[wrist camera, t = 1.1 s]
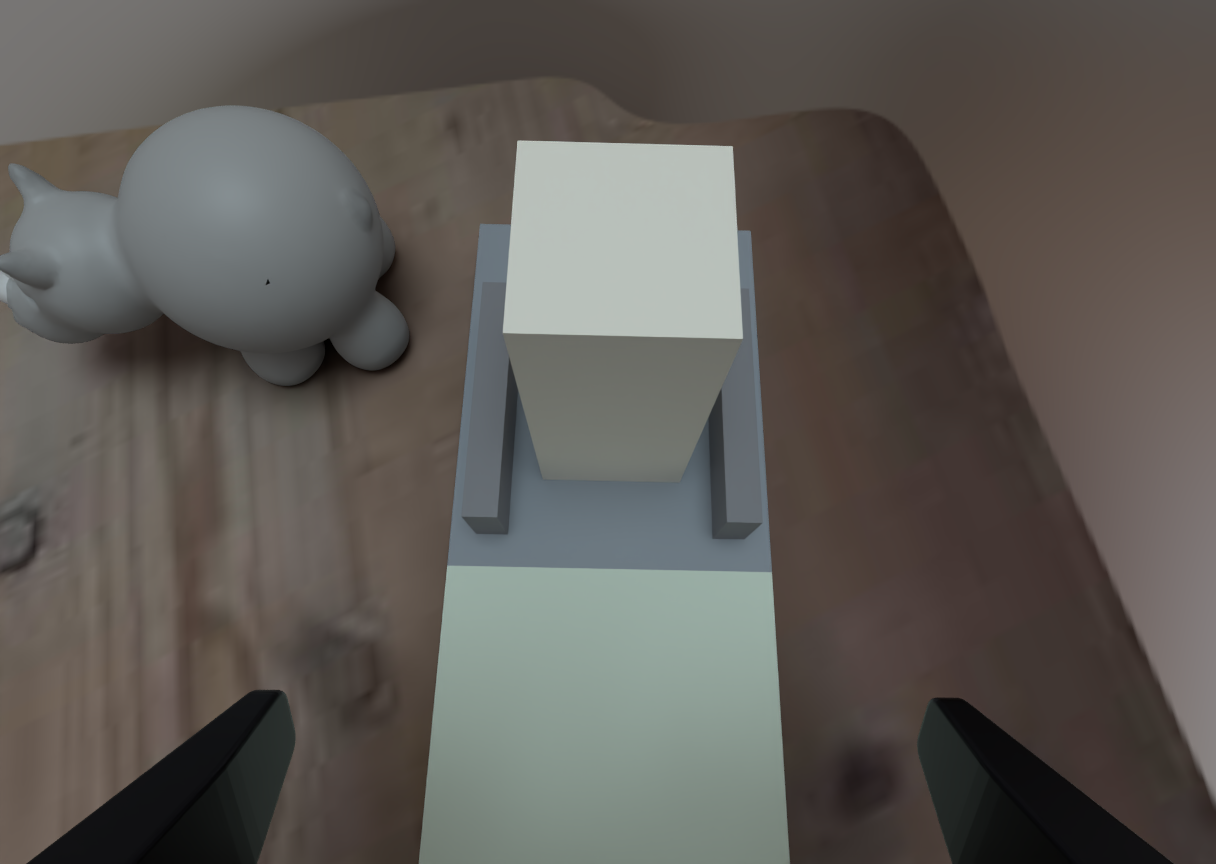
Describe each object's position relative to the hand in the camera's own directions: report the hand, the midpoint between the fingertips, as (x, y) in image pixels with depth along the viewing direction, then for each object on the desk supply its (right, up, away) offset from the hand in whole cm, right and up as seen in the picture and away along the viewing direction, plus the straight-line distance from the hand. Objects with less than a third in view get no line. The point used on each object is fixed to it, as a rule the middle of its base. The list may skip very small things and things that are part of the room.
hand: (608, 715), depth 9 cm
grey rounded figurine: (-14, +8, +17) cm, 23 cm away
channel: (0, +1, +14) cm, 14 cm away
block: (0, +4, +13) cm, 14 cm away
